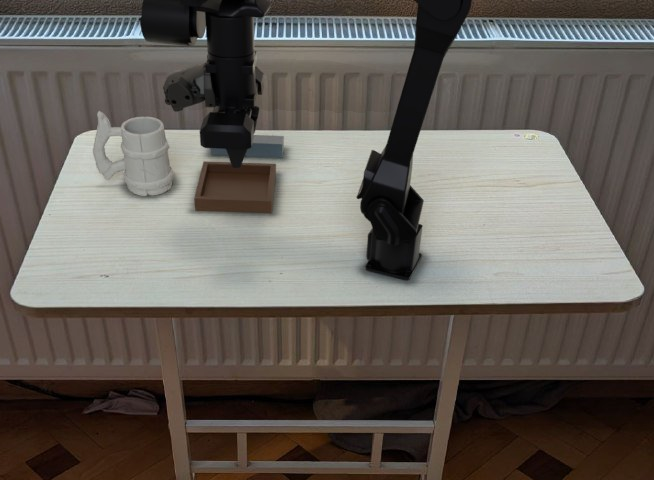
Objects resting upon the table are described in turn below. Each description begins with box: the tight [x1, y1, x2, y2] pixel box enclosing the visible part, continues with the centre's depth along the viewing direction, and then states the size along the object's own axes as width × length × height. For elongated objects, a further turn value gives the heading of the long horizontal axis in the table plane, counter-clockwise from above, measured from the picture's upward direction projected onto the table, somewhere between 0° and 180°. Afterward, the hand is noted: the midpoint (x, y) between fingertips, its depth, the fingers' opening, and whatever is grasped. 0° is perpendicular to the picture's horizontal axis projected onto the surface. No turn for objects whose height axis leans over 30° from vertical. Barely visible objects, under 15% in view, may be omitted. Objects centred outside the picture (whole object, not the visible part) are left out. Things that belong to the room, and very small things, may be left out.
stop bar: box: [209, 134, 285, 159], centre depth 139 cm, size 3×12×2 cm, turn 88°
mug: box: [92, 110, 175, 197], centre depth 127 cm, size 8×12×12 cm, turn 96°
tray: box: [193, 160, 277, 214], centre depth 129 cm, size 12×12×2 cm
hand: (236, 166), depth 112 cm, fingers closed
